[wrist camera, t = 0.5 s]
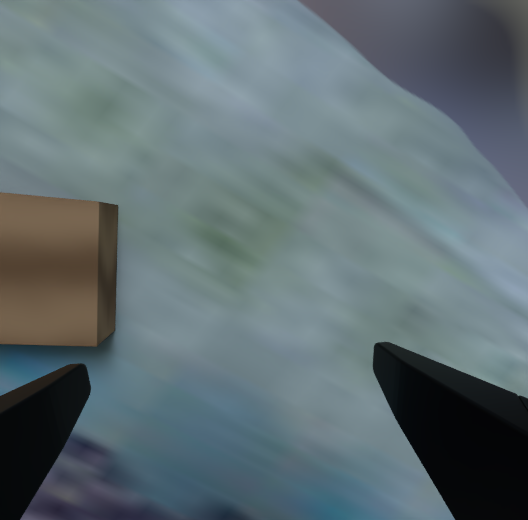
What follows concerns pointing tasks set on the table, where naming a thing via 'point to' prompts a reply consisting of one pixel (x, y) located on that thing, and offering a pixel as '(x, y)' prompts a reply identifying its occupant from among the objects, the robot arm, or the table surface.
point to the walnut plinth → (57, 270)
